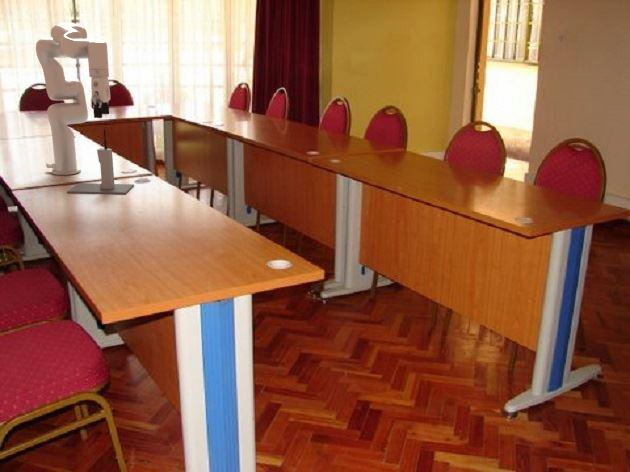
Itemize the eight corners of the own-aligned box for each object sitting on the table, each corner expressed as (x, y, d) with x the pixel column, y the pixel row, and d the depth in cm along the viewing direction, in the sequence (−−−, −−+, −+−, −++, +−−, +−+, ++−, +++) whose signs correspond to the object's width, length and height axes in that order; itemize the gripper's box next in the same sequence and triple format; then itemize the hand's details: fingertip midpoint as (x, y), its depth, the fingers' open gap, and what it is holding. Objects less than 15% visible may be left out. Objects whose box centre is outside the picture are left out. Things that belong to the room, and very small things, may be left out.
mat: (67, 193, 277) (67, 191, 277) (78, 184, 290) (78, 183, 290) (125, 194, 277) (125, 192, 277) (133, 186, 291) (133, 184, 290)
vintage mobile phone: (103, 187, 285) (98, 128, 277) (114, 187, 284) (110, 128, 277) (99, 189, 281) (95, 129, 273) (111, 189, 281) (107, 130, 273)
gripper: (102, 75, 260) (104, 119, 265) (114, 71, 276) (116, 113, 282) (82, 74, 260) (85, 119, 265) (96, 70, 276) (98, 112, 281)
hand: (101, 115), depth 273 cm, fingers open, 9 cm apart
